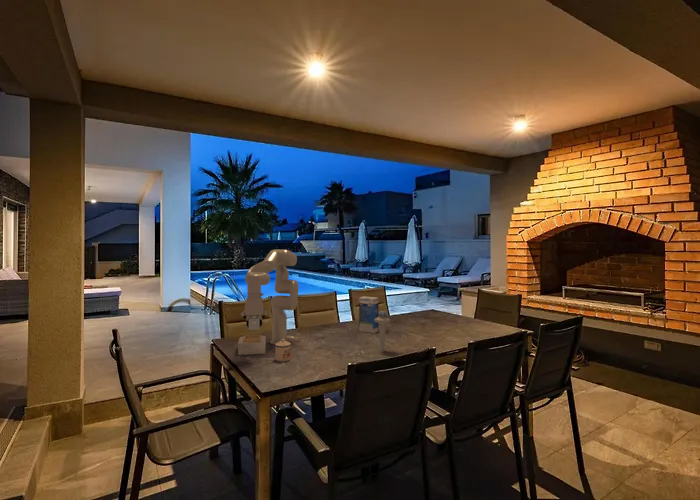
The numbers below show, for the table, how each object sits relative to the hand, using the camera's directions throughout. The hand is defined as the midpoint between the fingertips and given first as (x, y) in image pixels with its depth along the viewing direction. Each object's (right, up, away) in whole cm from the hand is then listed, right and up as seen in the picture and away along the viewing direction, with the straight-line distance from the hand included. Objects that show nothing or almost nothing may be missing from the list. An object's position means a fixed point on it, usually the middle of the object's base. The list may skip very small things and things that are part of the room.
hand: (254, 326), depth 218 cm
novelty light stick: (+75, -19, +18) cm, 80 cm away
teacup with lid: (+17, -20, +3) cm, 26 cm away
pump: (0, -1, -1) cm, 2 cm away
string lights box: (+69, -18, +70) cm, 100 cm away
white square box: (-6, -19, +19) cm, 27 cm away
